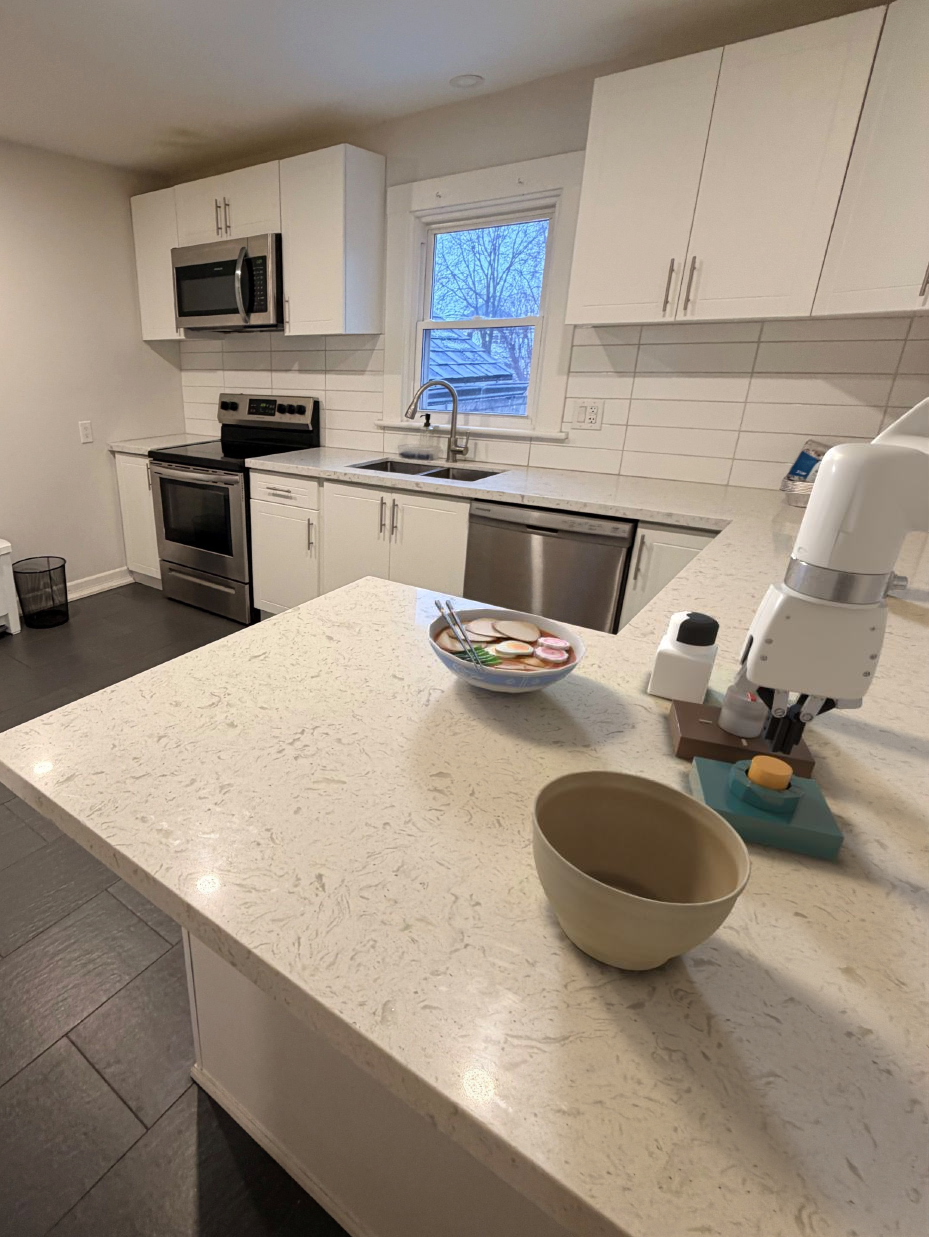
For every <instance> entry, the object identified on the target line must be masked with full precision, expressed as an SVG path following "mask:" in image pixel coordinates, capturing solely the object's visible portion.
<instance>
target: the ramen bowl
mask: <svg viewBox="0 0 929 1237" xmlns="http://www.w3.org/2000/svg"><path fill="white" fill-rule="evenodd" d="M434 605H435V607H436V608H437V609H438V611H439V612H440V614H439V615H438V616H437V617H436V618H434V619H433V620H432V621H431V622H430V623H428V624H427V632H426V637H427V640H428V642H429V645H430V646H431V649H432V650H433V652H434V653H435V655H436V656H437V657H438V658H439V660H440V661H441V663H442V664H444V666H445V667H446V668H447V669H448V670H449V671H450V673H451V674H453V675H455V677H458V678H459V679H461V680H463V681H465V682H467V683H468V684H470V685H472V686H475V687H478V688H482V689H485V690H489V691H492V692H501V693H509V694H510V693H511V694H519V693H526V692H534V691H538V690H541V689H544V688H547V687H549V686H552V685H554V684H556V683H558V682H560V681H561V680H563V679H565V678H566V677H567V676H568V675H569V674H570V673H571V672H573V671H574V670H575V668H576V667H577V666H578V665H579V663H580V662H581V661H582V659H583V657H584V656H585V654H586V652H587V650H588V649H587V647H586V645H585V643H584V640H583V638H582V637H581V636H580V635H578V633H576V632H574V631H573V630H572V629H570V628H569V627H567V626H566V625H564V624H562V623H559V622H556V621H554V620H551V619H549V618H546V617H544V616H541V615H537V614H532V613H527V612H522V611H518V610H514V609H504V608H503V609H501V608H490V607H489V608H488V607H482V608H481V607H480V608H467V609H458V610H455V608H454V607H453V603H451V600H448V599H447V600H445V606H446V608H447V609H448V611H449V612H447V611H446V610H445V608H444V607H443V605H442V602H440V600H439V599H438V600H437V599H435V600H434Z"/></svg>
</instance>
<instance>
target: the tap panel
mask: <svg viewBox="0 0 929 1237" xmlns="http://www.w3.org/2000/svg"><path fill="white" fill-rule="evenodd" d="M721 709H722V706H721V707H719V706H715V705H709V704H705V703H703V704H698V703H692V702H686V701H681V700H675V699H673V700H671V703H670V708H669V711H668V716H667V721H668V725H669V731H670V732H669V733H670V736H671V741H672V746H673V752H674V756H675V757H676V758H681V759H686V760H690V761H693V759H694V756H696V757H701V758H706V759H711V760H716V761H721V762H726V763H731V764H735V763H736V762H738V761H743V760H752V759H753V758H754V757H756V756H769V757H773V758H776V759H779V760H781V761H783V762H785V763H787V764H788V765H789V766H790V767H791V768H792V770H793V773H792V774H793V775H795V776H796V777H802V778H807V779H811V777H812V773H813V771H814V768H815V767H816V763H817V762H816V760H815V758H814V756H813V754H812V752H811V750H810V749H809V747H808V745H807V743H806V741H805V739H804V737H803V736H802V737H801V740H800V742H799V744H798V745H793V747H792V750H791V753H790V755H785V754H782V752H777V753H775V752H771V751H770V749H769V747H768V744H767V742H766V740H765V739H763V738H762V735H761V733H760V735H759V736H757V737H753V738H747V737H740V736H737V735H733V734H731V733H729V732H727V731H725V730H723V729H722V728H721V727H720V726H719V725H718V719H719V716H720V713H721ZM766 716H767V714H766ZM765 719H766V717H765ZM764 722H765V721H764ZM763 725H764V724H763ZM762 728H763V727H762ZM761 732H762V730H761Z"/></svg>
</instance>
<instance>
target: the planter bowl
mask: <svg viewBox="0 0 929 1237" xmlns="http://www.w3.org/2000/svg"><path fill="white" fill-rule="evenodd" d="M531 819H532V820H531V821H532V837H531V839H532V853H533V860H534V864H535V865H534V866H535V869H536V872H537V873H536V874H537V876H538V880H539V882H540V884H541V887H542V890H543V891H544V894H545V897H546V898H547V900H548V902H549V903H550V905H551V907H552V909H553V910H554V912H555V913H556V917H557V921H558V922H559V925H560V927H561V929H562V930H563V932H564V933H565V935H566V936H567V937H568V938H569V940H570V941H571V942H572V943H573V944H574V945H575V946H576V947H577V948H579V950H581V951H582V952H584V953H585V954H587V955H588V956H590V957H591V958H593V959H595V960H597V961H598V962H601V963H603V964H605V965H608V966H611V967H613V968H617V969H622V970H629V971H647V970H648V971H649V970H652V969H655V968H658V967H660V966H662V965H663V964H665V963H666V962H667V961H668V960H669V959H672V958H675V957H678V956H680V955H683V954H685V953H687V952H689V951H691V950H693V949H694V948H697V947H698V946H700V945H701V944H702V943H704V942H705V941H706V940H708V939H709V938H710V937H711V936H712V935H714V933H716V932H717V931H718V930H719V929H720V928H721V926H722V925H723V924H724V923H725V921H726V920H727V918H728V917H729V915H730V914H731V912H732V910H733V908H734V906H735V904H736V903H737V900H738V898H739V897H740V896H741V894H742V893H743V892H744V890H745V888H746V887H747V885H748V883H749V880H750V877H751V872H752V860H751V855H750V853H749V850H748V848H747V846H746V844H745V842H744V840H742V839H741V837H740V836H739V834H738V833H737V832H736V831H735V830H734V828H733V827H732V826H731V825H730V824H729V823H728V822H727V821H726V820H725V819H724V818H723V817H722V816H720V815H719V814H718V813H717V812H716V811H714V810H713V809H711V808H710V807H709V806H707V805H706V804H704V803H703V802H701V801H699V800H698V799H696V798H694V797H693V796H692V794H689V793H687V792H685V791H682V790H680V789H678V788H677V787H673V786H671V785H670V784H666V783H664V782H661V781H659V780H656V779H653V778H650V777H646V776H643V775H639V774H635V773H629V772H624V771H618V770H609V769H586V770H585V769H584V770H575V771H571V772H568V773H564V774H561V775H559V776H555V777H554V778H552V779H551V780H548V782H546V783H545V784H543V786H542V787H541V788H540V789H539V790H538V791H537V793H536V796H535V797H534V800H533V803H532V811H531Z"/></svg>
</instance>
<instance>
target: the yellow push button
mask: <svg viewBox="0 0 929 1237" xmlns="http://www.w3.org/2000/svg"><path fill="white" fill-rule="evenodd" d="M792 773H793V770H792V768H791V767H790V766H789V765H788V764H787V763H785V762H783V761H781V760H779V759H776V758H773V757H769V756H756V757H754V758H753V759H752V762H751V765H750V768H749V771H748V778H749V779H750V780H752V781H753V782H754V783H756V784H758V785H761V786H763V787H765V788H768V789H773V790H778V791H779V790H786V789H787V787H788V784H789V781H790V778H791V776H792Z"/></svg>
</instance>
